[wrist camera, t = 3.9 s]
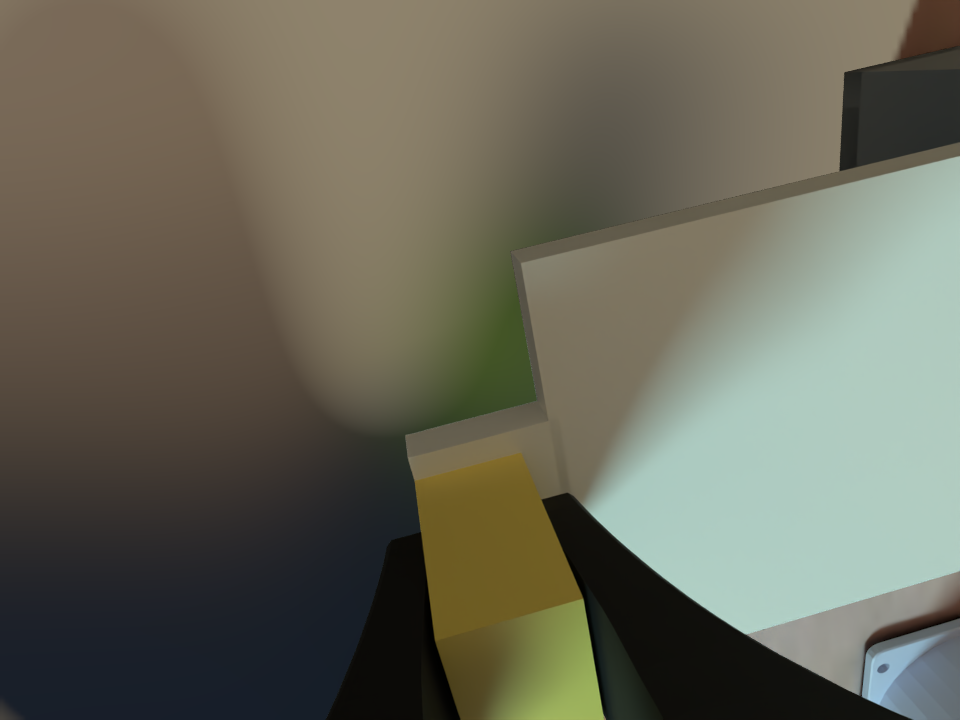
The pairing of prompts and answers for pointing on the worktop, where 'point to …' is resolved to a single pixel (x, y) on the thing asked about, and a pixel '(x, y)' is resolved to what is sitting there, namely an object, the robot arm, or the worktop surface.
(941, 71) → the tub
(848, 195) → the lid
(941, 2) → the worktop surface
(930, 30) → the worktop surface
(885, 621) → the worktop surface
